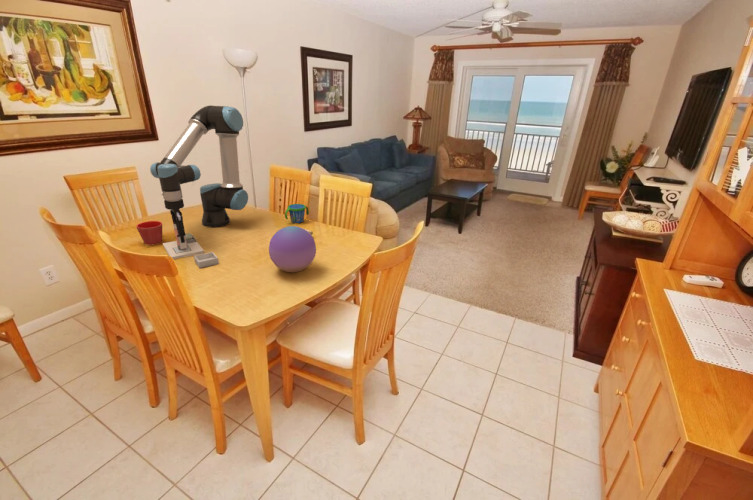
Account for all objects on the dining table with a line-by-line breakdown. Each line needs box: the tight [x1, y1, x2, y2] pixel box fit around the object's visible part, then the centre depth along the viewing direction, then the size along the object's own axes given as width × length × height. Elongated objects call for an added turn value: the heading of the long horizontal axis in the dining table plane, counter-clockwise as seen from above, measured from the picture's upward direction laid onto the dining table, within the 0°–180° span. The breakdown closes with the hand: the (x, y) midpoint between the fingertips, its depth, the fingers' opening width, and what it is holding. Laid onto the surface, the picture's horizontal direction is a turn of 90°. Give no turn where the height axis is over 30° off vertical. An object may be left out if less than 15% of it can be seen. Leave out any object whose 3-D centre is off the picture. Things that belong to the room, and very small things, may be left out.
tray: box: [193, 251, 220, 269], centre depth 154 cm, size 8×8×3 cm
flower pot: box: [135, 220, 164, 246], centre depth 171 cm, size 11×11×10 cm
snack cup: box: [284, 203, 310, 224], centre depth 208 cm, size 16×10×10 cm
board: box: [162, 234, 205, 260], centre depth 166 cm, size 14×20×3 cm
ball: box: [268, 225, 317, 273], centre depth 148 cm, size 20×20×20 cm
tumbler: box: [172, 223, 188, 250], centre depth 161 cm, size 4×4×12 cm
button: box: [185, 232, 193, 240], centre depth 172 cm, size 5×5×2 cm
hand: (182, 246), depth 164 cm, fingers closed on tumbler, 4 cm apart
